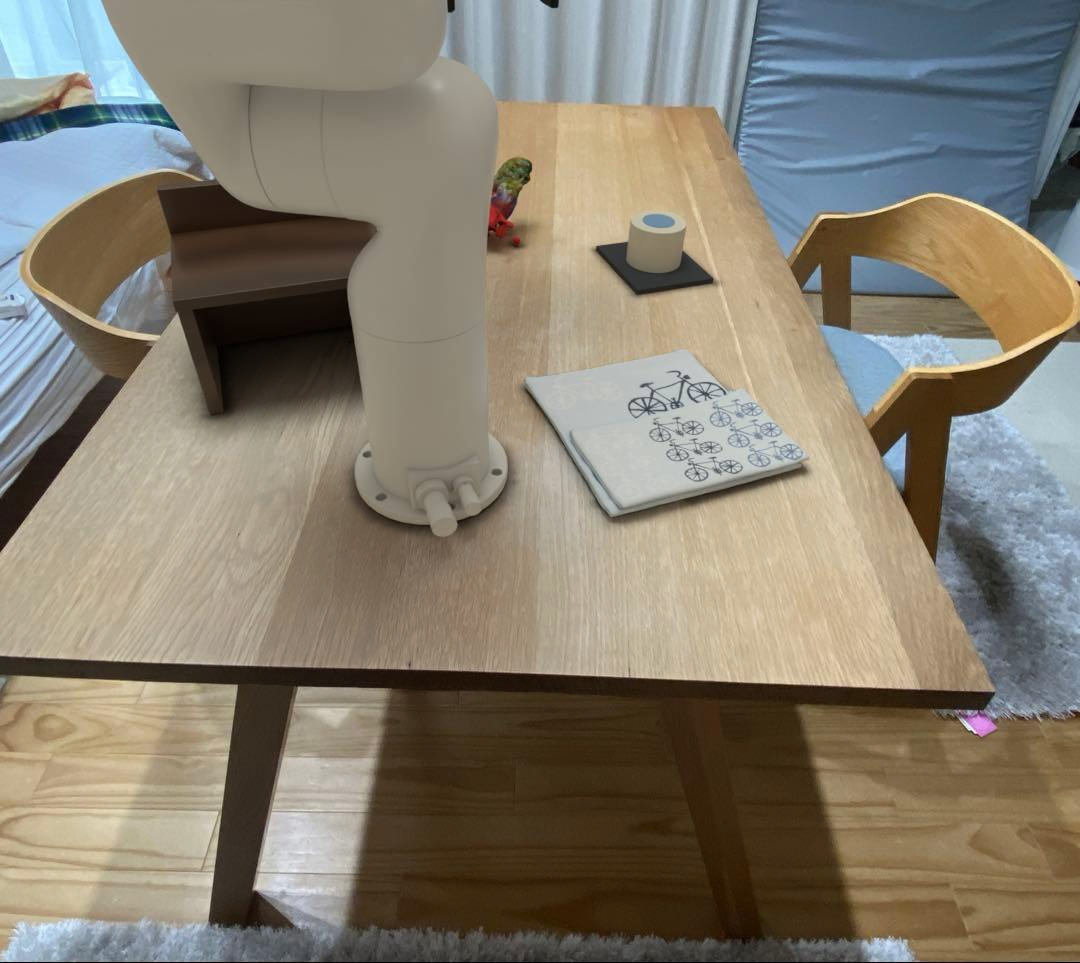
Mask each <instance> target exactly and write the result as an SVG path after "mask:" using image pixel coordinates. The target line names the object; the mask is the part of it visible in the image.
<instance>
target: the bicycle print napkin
mask: <svg viewBox="0 0 1080 963" xmlns="http://www.w3.org/2000/svg"><path fill="white" fill-rule="evenodd" d="M523 382H524V385H523V386H524V388H526V390H527V391H528V392H529V394H530V395H531V396H532V397H533V399H534V401H535V402H536V403H537V404H538V406H539V407H540V408H541V410H542V412H543V413H544V414H545V415H546V417H547V419H548V420H549V421H550V423H551V424H552V427H553V428H554V429H555V431H556V433H557V434H558V436H559V437H560V440H561V442H562V443H563V445H564V446H565V448H566V450H567V452H568V453H569V455H570V457H571V458H572V459H571V460H573V462H574V463H575V465H576V466H577V468H578V469H579V471H580V472H581V475H582V476H583V478H584V479H585V481H586V482H587V484H588V486H589V488H590V489H591V491H592V493H593V495H594V496H595V498H596V500H597V502H598V504H599V506H601V508H602V509H603V510H604V511H605V512H607V514H608V515H609V516H610V518H613V517H617V516H622V515H626V514H629V513H633V512H634V513H635V512H639V511H642V510H645V509H649V508H653V507H656V506H660V505H665V504H669V503H673V502H678V501H680V500H684V499H689V498H694V497H697V496H701V495H706V494H708V493H712V492H713V493H714V492H716V491H721V490H725V489H728V488H732V487H735V486H741V485H744V484H748V483H751V482H754V481H757V480H761V479H764V478H768V477H772V476H776V475H780V474H784V473H787V472H792V471H794V470H796V469H801V468H802V466H803V465H802V464H801V463H802V462H806V461H810V459H811V457H810V454H808V452H807V451H806V450H805V449H804V448H803V447H802V446H801V445H800V444H799V443H798V442H797V441H796V440H795V439H794V438H792V437H791V436H790V435H789V434H787V432H786V431H785V430H783V429H782V427H781V426H780V424H778V423H777V422H776V421H775V420H774V419H773V418H772V417H771V415H769V413H768V412H767V411H766V410H765V409H764V408H763V407H762V406H761V405H760V403H759V402H758V401H757V400H755V399H754V398H753V397H752V396H751V395H750V394H749V392H747V388H745V387H739V388H737V389H735V390H731V389H728V390H727V389H726V388H725V386H724V385H722V384H721V383H720V382H719V381H718V380H717V379H716V378H715V377H714V376H713V374H711V373H710V371H708V370H707V369H706V368H705V367H704V366H703V365H702V364H701V362H699V360H698V359H697V357H695V355H694V354H693V353H692V352H690V350H687V349H686V348H679V349H675V350H673V351H670V352H667V353H662V354H657V355H653V356H648V357H642V358H637V359H633V360H628V361H623V362H616V363H611V364H606V365H601V366H597V367H592V368H586V369H580V370H574V371H568V372H564V373H563V372H562V373H554V374H548V375H541V376H531V375H529V376H526V377H525V378H523Z"/></svg>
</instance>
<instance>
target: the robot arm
mask: <svg viewBox="0 0 1080 963" xmlns="http://www.w3.org/2000/svg"><path fill="white" fill-rule="evenodd" d="M539 1H540V2H541V3H542V4H544V5H545V6H547V7H549V8H550V9H558V8H559V5H560V0H539ZM100 2H101V4H102V7H103V10H104V11H105V14H106V17H107V19H108V22H109V24H110V27H111V28H112V30H113V32H114V34H115V36H116V38H117V39H118V41H119V43H120V45H121V46H122V48H123V50H124V52H125V53H126V55H127V56H128V58H129V60H130V61H131V62H132V64H133V66H134V67H135V68H136V70H137V71H138V73H139V75H140V76H141V77H142V79H143V80H144V81H145V83H146V84H147V86H148V87H149V88H150V91H152V92H153V94H154V96H155V97H156V98H157V100H158V101H159V102H160V105H161V106H162V107H163V108H164V110H165V111H166V113H167V114H168V116H169V117H170V118H171V119H172V121H173V122H174V124H175V125H176V127H177V128H178V129H179V130H180V132H181V134H182V135H183V136H184V137H185V139H186V141H187V142H188V143H189V145H190V146H191V147H192V149H193V150H194V152H195V153H196V155H197V156H198V157H199V159H200V160H201V161H202V163H203V164H204V166H205V167H206V168H207V169H208V171H209V172H210V174H211V175H212V176H213V178H215V179H214V180H217V181H218V182H219V183H220V184H221V185H222V187H223V188H224V189H225V190H226V191H228V192H229V193H230V194H231V195H232V196H233V197H235V198H236V199H238V200H239V201H241V202H243V203H245V204H247V205H250V206H252V207H256V208H259V209H264V210H271V211H278V212H287V213H297V214H308V215H319V216H330V217H341V218H347V219H351V220H358V221H366V222H369V223H371V224H373V225H375V226H376V227H377V230H378V231H377V233H376V234H375V235H374V236H373V238H372V239H371V240H370V241H369V242H368V243H367V245H366V246H365V247H364V248H363V250H362V251H361V252H360V254H359V255H358V257H357V258H356V260H355V262H354V264H353V266H352V268H351V270H350V274H349V278H348V286H347V294H348V304H349V311H350V316H351V321H352V325H351V327H352V334H353V339H354V347H355V353H356V354H355V355H356V359H357V360H356V361H357V365H358V366H357V367H358V374H359V381H360V386H361V388H360V389H361V393H362V400H363V407H364V414H365V421H366V427H367V434H368V440H369V441H368V442H367V443H366V444H365V445H363V447H362V448H361V449H360V451H359V453H358V455H357V457H356V460H355V464H354V480H355V485H356V489H357V491H358V493H359V496H360V498H361V499H362V500H363V501H364V502H365V503H366V504H367V506H368V507H370V509H373V511H375V512H376V513H378V514H380V515H382V516H384V517H386V518H388V519H390V520H394V521H397V522H400V523H405V524H412V525H422V526H423V525H425V526H427V525H429V526H430V529H431V532H432V534H434V536H436V537H439V538H444V537H449V536H451V535H453V534H454V533H455V532H456V530H458V525H459V524H458V521H460V520H465V519H466V518H469V517H474V516H477V515H479V514H480V513H481V512H482V511H483V510H484V509H486V508H487V507H489V506H490V505H491V504H492V503H493V502H494V501H495V500H496V499H497V498H498V497H499V495H501V493H502V492H503V490H504V488H505V485H506V483H507V480H508V471H509V465H508V464H509V463H508V457H507V454H506V450H505V448H504V447H503V445H502V443H501V442H500V441H499V440H498V438H496V437H495V436H494V435H493V434H492V433H491V432H489V378H488V377H489V376H488V375H489V374H488V371H489V370H488V321H487V320H488V319H487V318H488V316H487V312H488V311H487V310H488V309H487V308H488V306H487V304H488V303H487V254H488V253H487V252H488V238H487V233H488V222H489V211H490V204H491V196H492V189H493V182H494V176H495V175H496V167H497V160H498V154H499V142H500V117H499V111H498V106H497V102H496V99H495V97H494V94H493V92H492V90H491V88H490V86H489V85H488V84H487V82H486V81H485V80H484V78H482V77H481V75H480V74H478V73H477V72H476V71H474V70H473V69H472V68H470V67H469V66H468V65H466V64H464V63H462V62H460V61H457V60H455V59H452V58H450V57H446V56H442V55H440V53H441V51H442V49H443V47H444V43H445V40H446V36H447V26H448V18H449V17H448V13H449V14H450V13H451V14H452V13H453V12H454V11H456V0H100Z"/></svg>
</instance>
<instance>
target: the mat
mask: <svg viewBox="0 0 1080 963" xmlns="http://www.w3.org/2000/svg"><path fill="white" fill-rule="evenodd" d="M627 247H628V241H622V242H616V243H608V244H607V243H606V244H601V245H596V246H595V251H596V252H597V253H598V254H599V255H600V256H601V257H602V259H604V261H606V263H607V264H608V265H609V266H610V267H611V268H612V269H613V271H614V272H616V273H617V274H618V276H619V277H620V278H621V279H622V280H623V281H624V282H625V283H626V284H627V286H628V287H630V289H631V290H632V291H633V292H634V293H635V294H636V295H644V294H649V293H655V292H663V291H668V290H675V289H681V288H682V289H683V288H688V287H694V286H699V285H700V286H701V285H706V284H713V283H714V277H713V276H712V275H710V273H708V272H707V271H706V270H705V269H704V268H703V267H702V266H701V265H700V264H698V263H697V262H696V261H695V260H694V259H693V258H692V257H691V256H689V254H688V253H686V252H685V251H684V250H682V256H681V262H680V266H679V267H678V268H677V269H676V270H674V271H671V272H667V273H649V272H644V271H640V270H637V269H635V268H633V267H632V266H630V265H629V264H628V262H627V260H626V255H627Z"/></svg>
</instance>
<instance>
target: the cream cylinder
mask: <svg viewBox="0 0 1080 963" xmlns="http://www.w3.org/2000/svg"><path fill="white" fill-rule="evenodd" d="M629 221H630V222H629V231H628V239H627V242H628V247H627V255H626V260H627V262H628V264H629V265H630V266H632V267H633V268H635V269H637V270H640V271H644V272H649V273H667V272H671V271H674V270H676V269H677V268H678V267H679V266H680V262H681V256H682V250H683V249H684V244H685V237H686V232H687V221H686V219H685V218H684V217H683V216H681V215H679V214H677V213H674V212H671V211H667V210H660V209H646V210H641V211H637V212H635V213H634V214H633V215H631V217H630V220H629ZM683 251H684V250H683Z"/></svg>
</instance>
